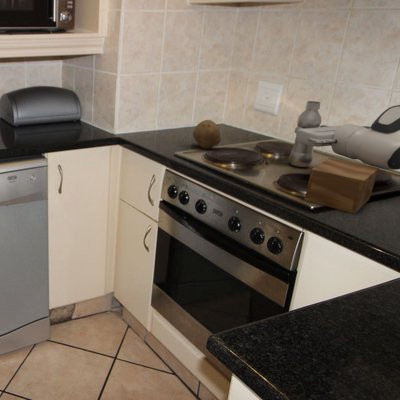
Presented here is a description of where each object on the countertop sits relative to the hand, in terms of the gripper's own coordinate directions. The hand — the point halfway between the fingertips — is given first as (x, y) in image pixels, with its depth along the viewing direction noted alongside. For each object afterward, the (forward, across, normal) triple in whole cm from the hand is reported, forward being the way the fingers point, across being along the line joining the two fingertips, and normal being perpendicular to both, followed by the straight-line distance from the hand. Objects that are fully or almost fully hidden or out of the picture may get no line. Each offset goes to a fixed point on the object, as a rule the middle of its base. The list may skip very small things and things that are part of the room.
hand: (309, 128), depth 145 cm
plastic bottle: (0, 0, -12) cm, 12 cm away
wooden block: (-25, -12, -12) cm, 30 cm away
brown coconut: (+25, -17, -12) cm, 33 cm away
